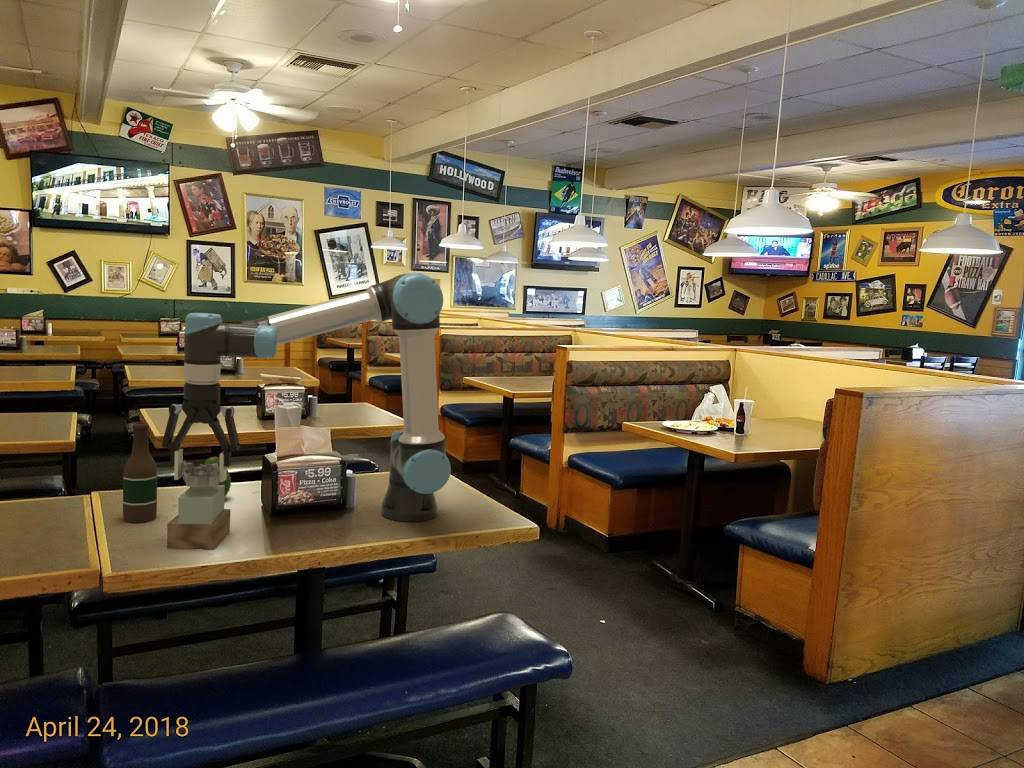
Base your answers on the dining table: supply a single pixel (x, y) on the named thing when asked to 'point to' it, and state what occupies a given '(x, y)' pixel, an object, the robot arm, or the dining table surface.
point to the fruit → (217, 460)
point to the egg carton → (200, 474)
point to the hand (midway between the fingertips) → (200, 479)
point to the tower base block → (198, 533)
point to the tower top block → (201, 504)
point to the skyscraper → (287, 414)
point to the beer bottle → (140, 479)
